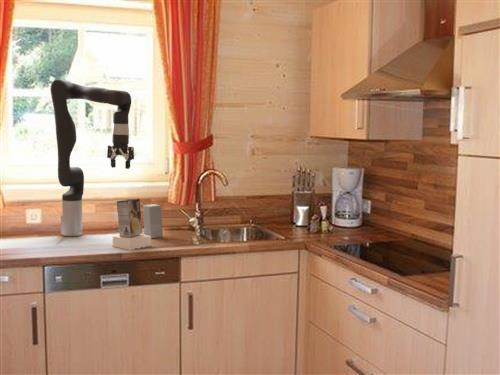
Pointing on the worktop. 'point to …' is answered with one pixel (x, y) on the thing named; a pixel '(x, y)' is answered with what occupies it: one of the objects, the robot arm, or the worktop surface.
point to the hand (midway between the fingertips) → (120, 168)
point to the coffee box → (129, 217)
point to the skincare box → (152, 220)
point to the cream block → (132, 241)
